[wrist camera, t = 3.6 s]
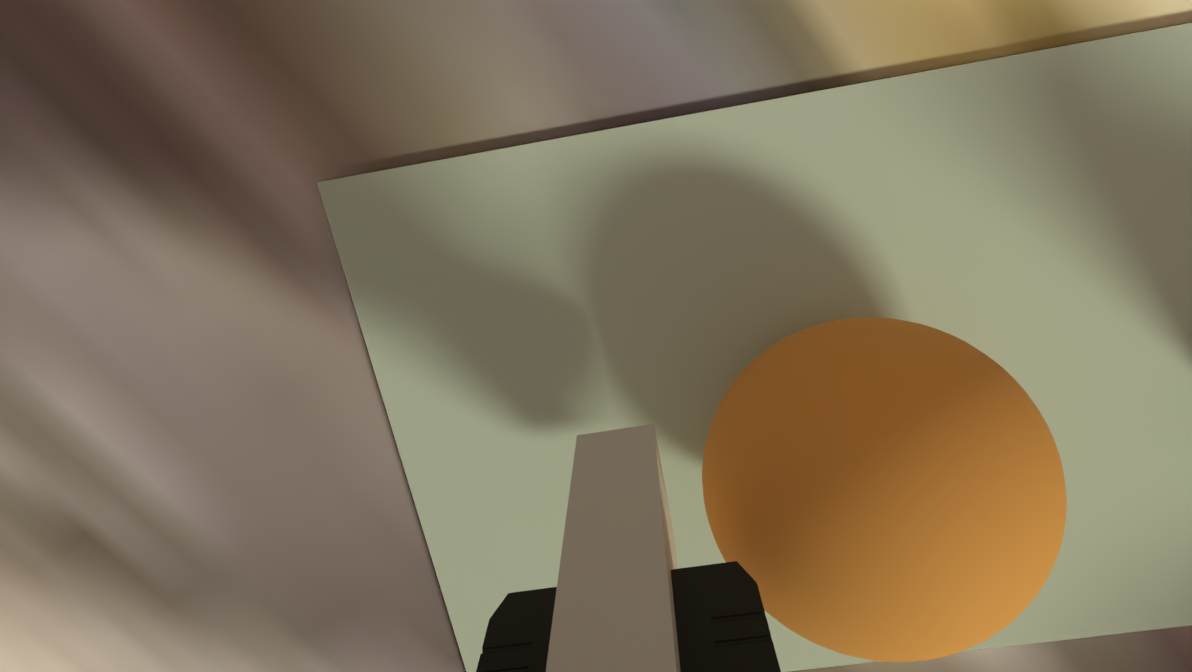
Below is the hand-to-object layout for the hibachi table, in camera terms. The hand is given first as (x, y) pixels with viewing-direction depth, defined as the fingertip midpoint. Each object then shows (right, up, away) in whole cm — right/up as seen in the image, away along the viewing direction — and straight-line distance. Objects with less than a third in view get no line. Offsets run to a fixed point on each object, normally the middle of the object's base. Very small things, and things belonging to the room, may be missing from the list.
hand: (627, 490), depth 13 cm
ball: (+4, 0, -1) cm, 4 cm away
